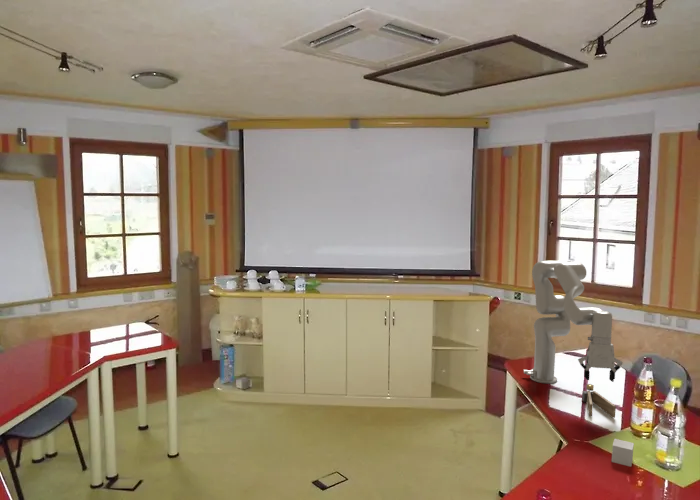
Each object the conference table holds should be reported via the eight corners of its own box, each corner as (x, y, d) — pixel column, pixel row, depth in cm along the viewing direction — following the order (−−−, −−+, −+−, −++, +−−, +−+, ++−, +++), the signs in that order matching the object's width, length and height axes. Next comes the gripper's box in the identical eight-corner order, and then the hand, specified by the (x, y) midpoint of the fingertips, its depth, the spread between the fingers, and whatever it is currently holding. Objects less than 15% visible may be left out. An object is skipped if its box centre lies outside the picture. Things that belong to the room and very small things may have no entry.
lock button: (587, 390, 226) (587, 386, 226) (585, 388, 229) (585, 383, 229) (594, 390, 226) (594, 386, 226) (592, 388, 228) (592, 384, 228)
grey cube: (611, 462, 174) (612, 445, 174) (613, 454, 179) (614, 438, 179) (631, 467, 171) (632, 450, 170) (632, 459, 176) (633, 443, 175)
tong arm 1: (589, 415, 211) (590, 404, 210) (586, 401, 226) (587, 390, 226) (592, 416, 211) (592, 404, 210) (589, 401, 226) (589, 391, 225)
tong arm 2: (612, 417, 209) (613, 405, 209) (592, 402, 226) (592, 391, 225) (615, 417, 209) (615, 405, 209) (594, 402, 226) (594, 391, 225)
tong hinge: (583, 402, 227) (584, 392, 226) (582, 399, 230) (582, 390, 229) (596, 402, 226) (596, 393, 226) (594, 400, 229) (594, 390, 228)
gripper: (581, 341, 212) (580, 381, 213) (626, 343, 209) (624, 384, 211) (577, 337, 220) (575, 375, 221) (619, 339, 217) (618, 378, 218)
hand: (599, 379), depth 216 cm, fingers open, 9 cm apart
